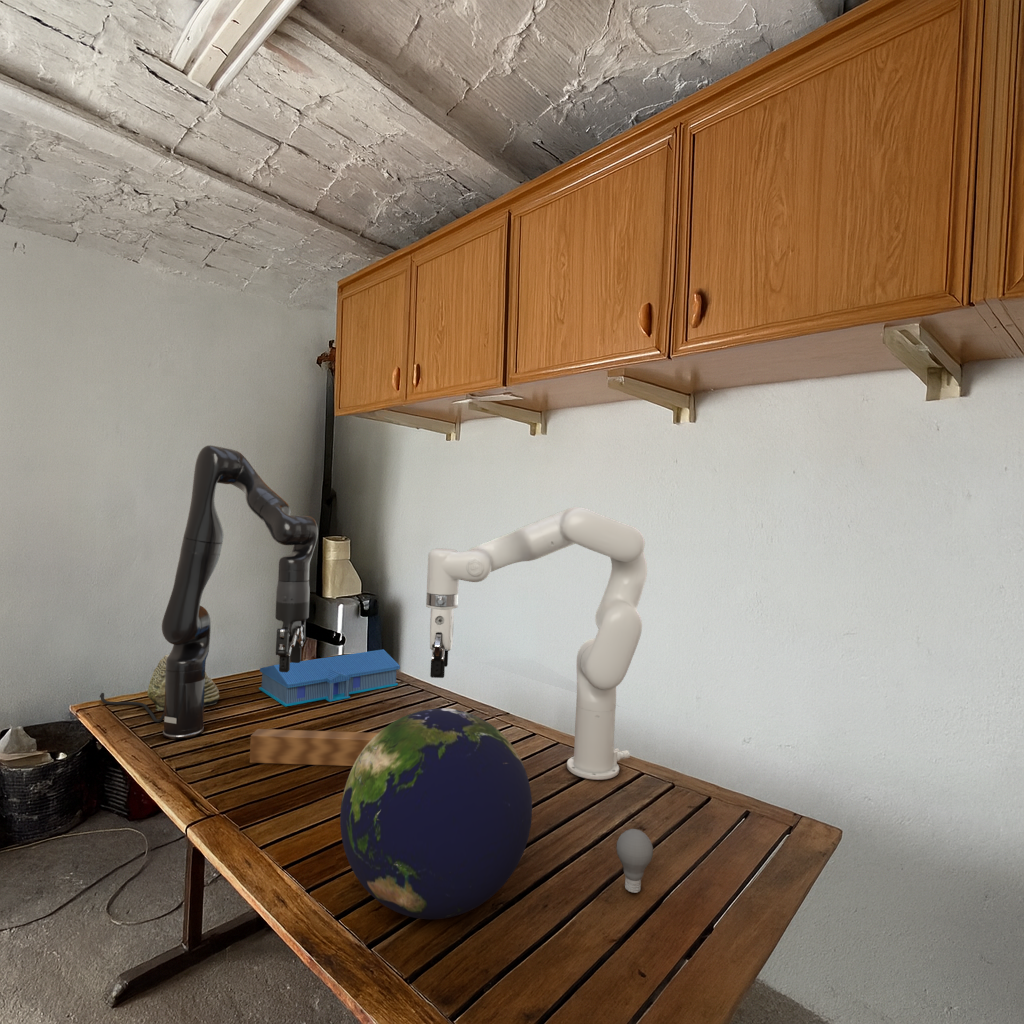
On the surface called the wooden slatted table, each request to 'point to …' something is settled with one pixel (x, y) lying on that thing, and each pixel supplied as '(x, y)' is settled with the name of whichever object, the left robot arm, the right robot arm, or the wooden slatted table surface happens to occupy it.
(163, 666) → the fossil
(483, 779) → the globe
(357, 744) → the beam
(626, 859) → the light bulb
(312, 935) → the wooden slatted table surface
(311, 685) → the model building
